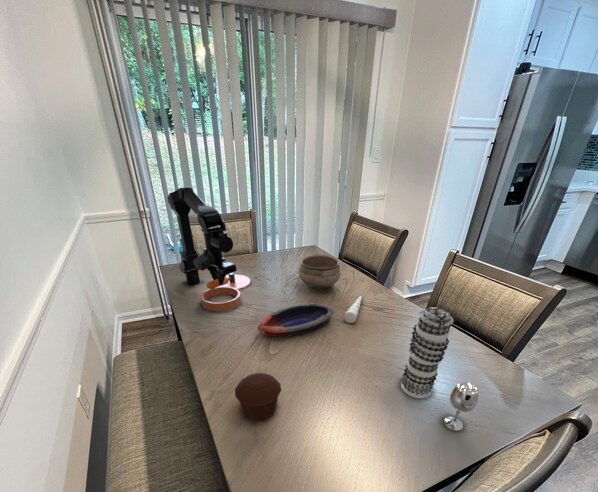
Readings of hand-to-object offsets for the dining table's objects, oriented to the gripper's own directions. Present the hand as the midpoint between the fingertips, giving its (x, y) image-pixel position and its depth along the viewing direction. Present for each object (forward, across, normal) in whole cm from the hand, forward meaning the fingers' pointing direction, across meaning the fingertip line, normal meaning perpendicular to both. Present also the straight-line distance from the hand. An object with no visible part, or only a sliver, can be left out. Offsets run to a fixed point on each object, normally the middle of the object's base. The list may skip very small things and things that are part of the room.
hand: (218, 283), depth 129 cm
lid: (+8, -12, +15) cm, 21 cm away
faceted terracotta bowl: (+9, 0, 0) cm, 9 cm away
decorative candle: (+9, +83, +7) cm, 84 cm away
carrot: (+1, 0, 0) cm, 1 cm away
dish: (+9, +35, +8) cm, 37 cm away
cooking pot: (+9, +19, +41) cm, 46 cm away
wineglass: (+9, +96, +1) cm, 96 cm away
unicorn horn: (+9, +44, +33) cm, 56 cm away
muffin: (+9, +56, -29) cm, 63 cm away
